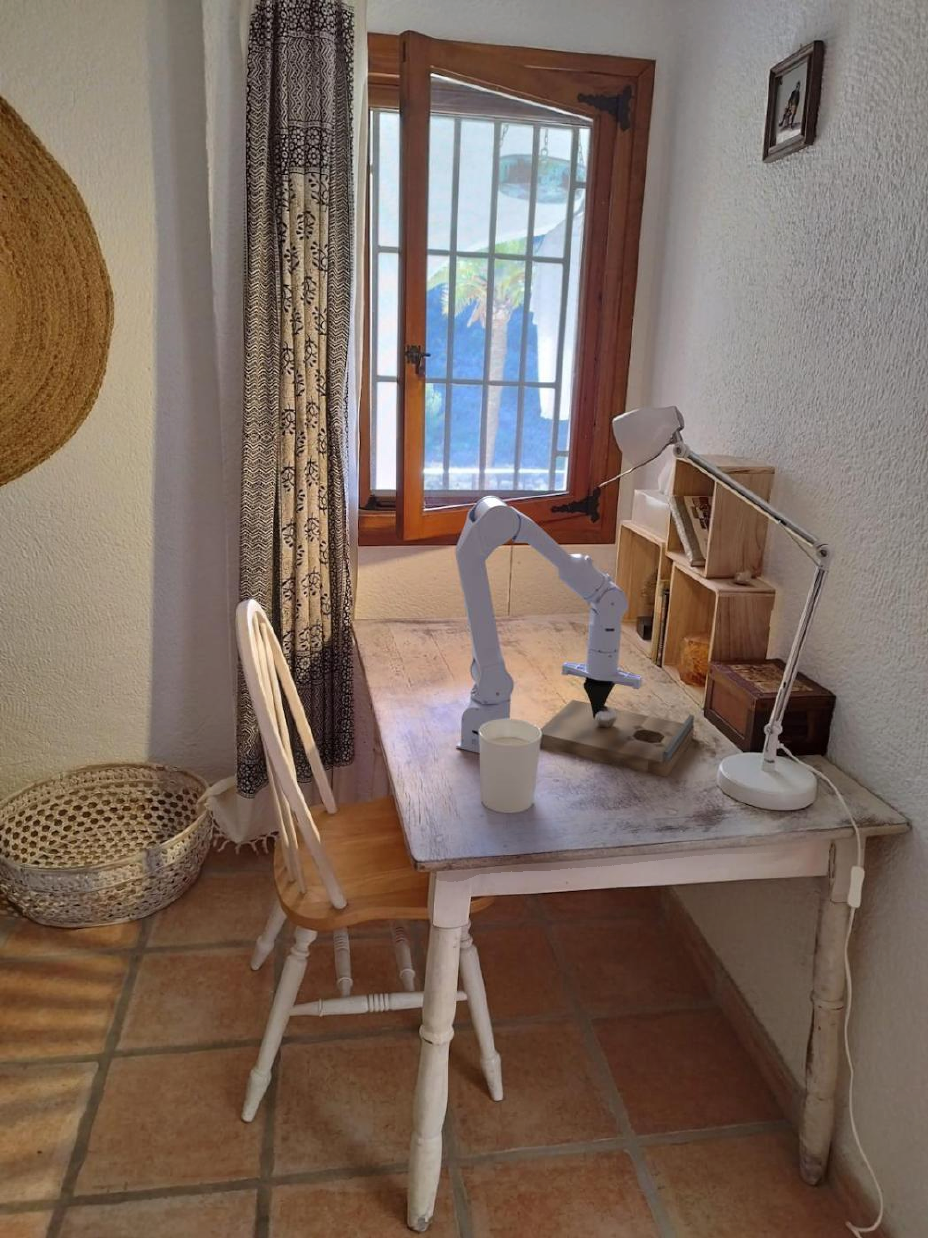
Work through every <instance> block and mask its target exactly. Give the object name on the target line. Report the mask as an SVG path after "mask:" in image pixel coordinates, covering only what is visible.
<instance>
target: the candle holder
mask: <svg viewBox="0 0 928 1238" xmlns="http://www.w3.org/2000/svg"><path fill="white" fill-rule="evenodd" d="M540 729H541V728H539V727H538V726H537V725H535V724H534V723H531V722H530V721H526V720H522V719H516V718H510V719H497V720H492V721H489V722H486V723H484V724H483V725H482V726H481V727H480V728H479V749H480V753H479V776H480V777H479V779H480V780H479V781H480V782H479V783H480V785H479V786H480V799H481V803H482V804H483V805H484V806H485V807H486V808H487V809H489V810H491V811H494V812H497V813H502V814H517V813H521V812H525V811H527V810H528V809H531V807H532V805H533V803H534V800H535V792H536V784H537V778H538V777H537V776H538V768H539V767H538V766H539V760H540V752H541V751H540V750H541V747H540V744H541V738H542V732H541V730H540Z"/></svg>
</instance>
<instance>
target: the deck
mask: <svg viewBox="0 0 928 1238" xmlns="http://www.w3.org/2000/svg"><path fill="white" fill-rule="evenodd" d="M612 708H613V707H612ZM613 709H614V710H615V712H616V714H617V720H616V722H615V724H614V725H612V726H611V727H608V728H604V727H601V726H599V725H598V724H597V722H596V720H595V718H593V712H592V707H591V703H590V702H584V701H581V700H576V699H572V700H570V701H569V702H568V703H567V704H566V705H565V706H564V707H563V708H562V709H561V710H560V711H559V712H557V713H556V714H555V715H554V716H553V717H552V718H551V719H550V720H549V721H547V723H546V724H545V725H543V726H542V727H541V728H540V730H541V732H542V738H541V744H540V748H541V747H542V748H546V749H548V750H553V751H558V752H561V753H566V754H570V755H574V756H578V757H581V758H585V759H586V758H587V759H591V760H594V761H600V762H604V763H606V764H612V765H616V766H620V767H624V768H628V769H632V770H637V771H640V772H644V773H648V774H653V775H657V776H660V777H665V778H667V777H668V776H669V774H670V773H671V772H672V770H673V768H675V766H676V764H677V763H678V761H679V759H680V758H681V757H682V755H683V753H684V752H685V750H686V749H687V747H688V746H689V744H690V743H691V741H692V740H693V739H694V731H695V730H694V729H695V725H694V722H695V721H694V720H695V715H693V714H689V715H688V717H687V718H686V719H685V721H684V722H683V723H682V722H679V721H674V720H671V719H669V720H668V719H664V718H660V717H655V716H650V715H645V714H640V713H638V712H637V713H636V712H631V711H628V710H622V709H617V708H613Z"/></svg>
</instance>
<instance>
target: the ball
mask: <svg viewBox="0 0 928 1238" xmlns="http://www.w3.org/2000/svg"><path fill="white" fill-rule="evenodd" d="M614 709H615V708H614ZM614 709H613V707H612V706H609V705H604V706H602V707H601V708H600V711H599V712H598V713H596V715H595V720H596V722H597V724H598V725H599V726H601V727H604V728H608V727H611V726H612V725H614V724H615V722H616V720H617V714H616V712H615V710H614Z"/></svg>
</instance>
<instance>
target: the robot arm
mask: <svg viewBox="0 0 928 1238" xmlns="http://www.w3.org/2000/svg"><path fill="white" fill-rule="evenodd" d="M510 540H512V542H513V543H514V544H515V543H516V544H519V543H520V544H521V543H523V544H524V543H526V544H528V545H529V546H530V547H532V548H533V549H534V550H535V551H536V552H538V553H539V554H541V556H543V557H544V558H545V559H547V560H548V561H549V562H551V564H553V565H554V566H555V567H557V576H558V579H559V581H561V582H562V583H563V584H564V585H565V586H567V588H569V589H570V590H572V591H573V593H575V594H576V595H577V596H578V597H579V598H581V600H583V601H584V602H586V603H587V604H588V605H589V606H591V607H590V609H589V610H590V611H589V613H590V614H589V623H588V635H587V647H586V648H587V649H586V651H587V652H586V660H585V661H586V662H585V663H582V662H581V663H580V662H569V661H566V662H564V663H563V664H562V667H561V668H562V669H561V675H563V676H568V675H570V676H573V677H574V676H575V677H580V678H585V680H584V682H583V689H584V691H585V693H586V694H587V697H588V700H589V703H590V704H591V707H592V712H593V718H595V715H596V713H598V712H599V711H600V708H601V707H602V706H606V705H605V704H606V702H607V700H608V697H609V696H610V694H611V692H612V690H613V688H614V687H615V685H620V686H625V687H626V686H627V687H629V688H633V689H634V690H640V688H641V687H642V685H643V676H642V675H639V674H635V673H631V672H629V671H625V670H624V669H620V668H619V661H620V649H621V638H622V637H621V636H622V635H621V634H622V621H623V619H622V618H623V616H624V615H625V614H626V612H627V611H628V608H629V604H630V603H629V602H628V599H627V597H626V596H627V595H626V593H625V592H624V590H623V589H621V588H620V587H619V586H618V585H617V584H615V582H613V578H612V577H611V576H610V575H609V574H608V573H605V574H604V572H602V571H601V570H600V569H598V567H596V566H595V565H594V564H593V563H594V560H593V558H591V557H590V556H589V555H588V554H586V555H585V556H584V555H582V554H581V553H571V554H570V553H569V552H567V551H566V550H565V549H564V548H563V547H562V546H561V545H560V544H559V543H558V542H556V541H555V539H553V538H552V537H551V536H550V535H549V534H548V533H547V532H546V531H545V530H543V528H542V527H541V526H539V525H538V524H537V523H536V522H535V521H534V520H532V519H531V518H530V517H528V516H527V515H525V514H524V513H522V512H520V511H519V510H518V509H516V508H515V507H513V506H511V505H507V504H506V502H505V501H504V500H503V499H502V498H500V497H498V496H496V495H495V496H494V495H487V496H484V497H482V498H481V499H479V500H477V502H475V504H474V505H473V506H472V507H471V508H470V509H469V510H468V512H467V515H466V519H465V524H464V525H463V529H462V530H461V534H460V536H459V539H458V541H457V543H456V547H455V550H454V551H455V560H456V565H457V570H458V575H459V581H460V585H461V590H462V591H461V592H462V597H463V602H464V608H465V612H466V613H465V614H466V617H467V618H466V619H467V624H468V629H469V634H470V640H471V644H472V645H471V647H472V648H471V654H472V661H471V663H470V666H469V667H470V668H469V672H470V676H471V678H472V680H473V681H474V683H475V684H474V685H473V687H472V688H471V690H470V699H469V703H468V706H467V707H466V709H465V710H464V711H463V713H462V715H461V726H460V727H461V728H460V741H459V742H457V743H456V744H455V746H456V748H458V749H462V750H465V751H469V752H472V753H478V754H480V749H479V728H480V727H481V726H482V725H483V724H484V723H486V722H489V721H492V720H497V719H511V702H512V701H511V700H512V699H511V697H512V693H513V691H514V688H515V684H514V678H513V677H512V676H511V674H510V673H509V672H508V670H507V668H506V664H505V660H504V655H503V653H502V650H501V645H500V639H499V634H498V629H497V623H496V621H497V620H496V616H495V611H494V604H493V599H492V594H491V587H490V583H489V576H488V570H487V565H486V561H487V560H488V558H489V557H490V556H491V554H492V553H493V552H495V549H498V548H499V547H500V546H502V545H504V544H506V543H508V542H509V541H510Z"/></svg>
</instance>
